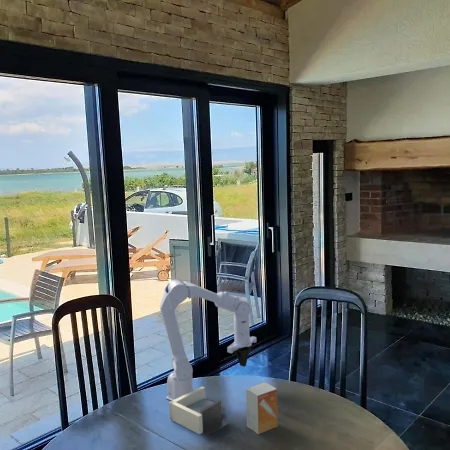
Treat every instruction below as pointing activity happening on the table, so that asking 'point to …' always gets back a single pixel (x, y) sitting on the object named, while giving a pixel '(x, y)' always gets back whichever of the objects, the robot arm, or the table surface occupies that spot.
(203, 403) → the book
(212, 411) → the bookend
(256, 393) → the small box
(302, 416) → the table surface
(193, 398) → the cream corner tray
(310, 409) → the table surface
